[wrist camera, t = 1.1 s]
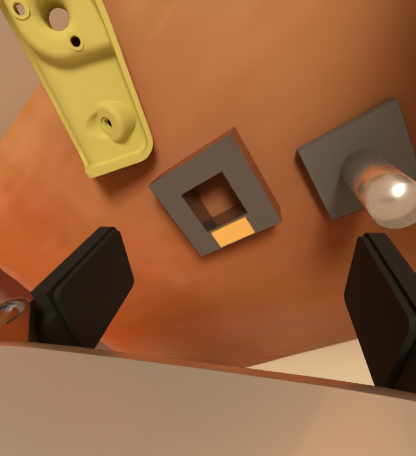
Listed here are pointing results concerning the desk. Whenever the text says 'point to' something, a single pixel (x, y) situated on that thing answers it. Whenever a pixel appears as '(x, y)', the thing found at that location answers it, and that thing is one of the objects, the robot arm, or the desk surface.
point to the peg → (381, 189)
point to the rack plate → (240, 182)
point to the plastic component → (85, 80)
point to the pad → (351, 142)
